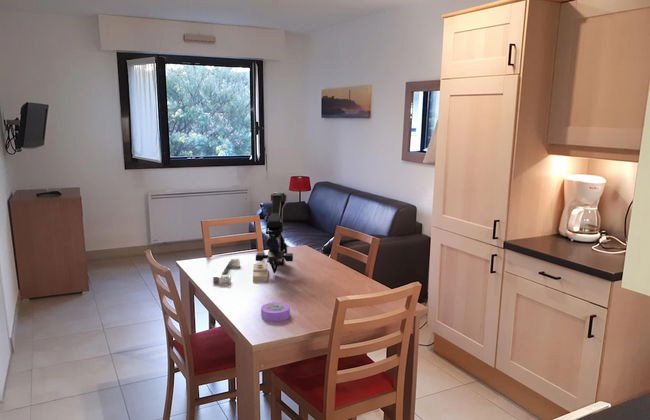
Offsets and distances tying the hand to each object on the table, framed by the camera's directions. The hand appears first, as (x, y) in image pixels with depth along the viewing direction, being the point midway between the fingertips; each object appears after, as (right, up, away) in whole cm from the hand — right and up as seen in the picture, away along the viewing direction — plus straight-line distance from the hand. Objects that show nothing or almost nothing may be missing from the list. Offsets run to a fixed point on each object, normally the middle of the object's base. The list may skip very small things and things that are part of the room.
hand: (274, 273), depth 246 cm
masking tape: (+6, -11, -50) cm, 51 cm away
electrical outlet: (-7, -2, -1) cm, 7 cm away
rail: (-24, -1, 0) cm, 24 cm away
